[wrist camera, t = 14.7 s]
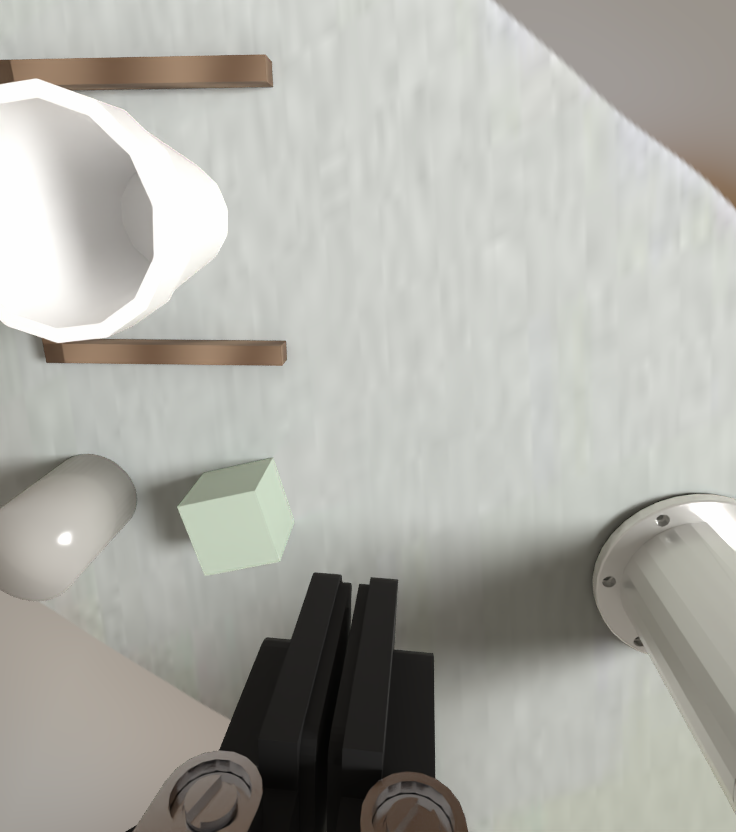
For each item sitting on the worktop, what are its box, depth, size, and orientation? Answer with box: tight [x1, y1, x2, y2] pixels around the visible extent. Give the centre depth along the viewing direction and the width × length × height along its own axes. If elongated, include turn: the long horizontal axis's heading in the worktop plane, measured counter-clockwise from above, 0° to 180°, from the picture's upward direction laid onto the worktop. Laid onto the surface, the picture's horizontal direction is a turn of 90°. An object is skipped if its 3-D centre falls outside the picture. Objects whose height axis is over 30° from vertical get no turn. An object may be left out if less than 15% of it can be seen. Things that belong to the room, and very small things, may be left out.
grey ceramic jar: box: [0, 454, 137, 601], centre depth 37 cm, size 6×6×8 cm
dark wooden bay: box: [0, 55, 287, 366], centre depth 34 cm, size 15×16×2 cm
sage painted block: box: [177, 458, 294, 576], centre depth 38 cm, size 5×5×5 cm
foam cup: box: [0, 78, 228, 343], centre depth 28 cm, size 10×9×13 cm
